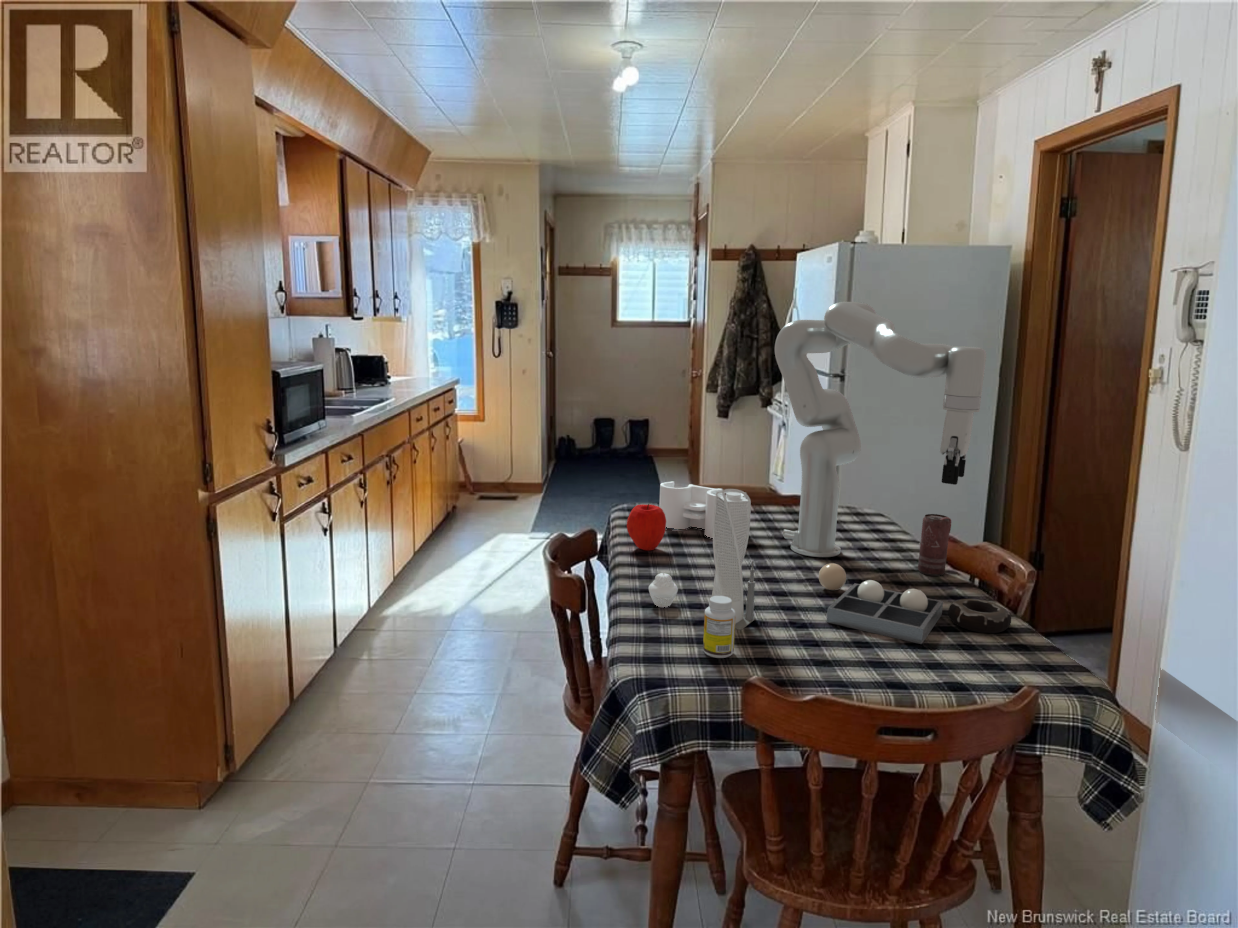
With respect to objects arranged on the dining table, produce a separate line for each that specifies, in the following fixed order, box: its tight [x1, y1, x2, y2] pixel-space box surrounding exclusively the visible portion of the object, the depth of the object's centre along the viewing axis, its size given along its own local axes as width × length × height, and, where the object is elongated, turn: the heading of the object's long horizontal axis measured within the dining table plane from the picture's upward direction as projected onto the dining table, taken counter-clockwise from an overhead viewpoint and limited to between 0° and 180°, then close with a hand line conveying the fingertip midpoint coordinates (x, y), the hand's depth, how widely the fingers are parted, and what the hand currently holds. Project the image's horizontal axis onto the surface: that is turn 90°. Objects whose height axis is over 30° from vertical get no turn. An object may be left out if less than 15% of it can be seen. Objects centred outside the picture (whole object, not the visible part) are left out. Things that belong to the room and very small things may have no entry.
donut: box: [947, 598, 1012, 634], centre depth 163 cm, size 12×12×4 cm
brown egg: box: [818, 562, 847, 591], centre depth 181 cm, size 6×6×6 cm
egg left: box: [857, 579, 884, 602], centre depth 171 cm, size 5×5×5 cm
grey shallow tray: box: [826, 582, 944, 645], centre depth 165 cm, size 18×18×3 cm
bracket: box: [658, 481, 747, 539], centre depth 225 cm, size 25×10×12 cm, turn 57°
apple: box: [626, 503, 666, 551], centre depth 207 cm, size 10×10×12 cm
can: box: [917, 513, 952, 577], centre depth 194 cm, size 6×6×14 cm
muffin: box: [648, 572, 679, 608], centre depth 169 cm, size 6×6×7 cm
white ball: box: [900, 588, 928, 612], centre depth 166 cm, size 5×5×5 cm
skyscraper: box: [711, 488, 756, 631], centre depth 159 cm, size 8×8×28 cm
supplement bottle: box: [702, 596, 736, 659], centre depth 146 cm, size 6×6×10 cm
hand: (952, 479), depth 180 cm, fingers open, 9 cm apart
